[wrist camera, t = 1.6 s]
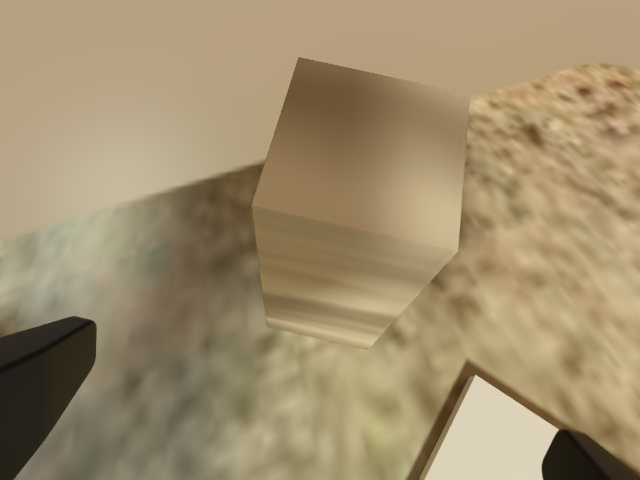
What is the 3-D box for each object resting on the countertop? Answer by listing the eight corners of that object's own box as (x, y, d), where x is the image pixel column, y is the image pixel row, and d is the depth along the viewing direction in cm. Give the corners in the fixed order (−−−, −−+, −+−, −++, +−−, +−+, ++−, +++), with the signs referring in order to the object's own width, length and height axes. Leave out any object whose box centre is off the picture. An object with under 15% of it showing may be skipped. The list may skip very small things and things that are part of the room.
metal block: (367, 349, 21) (458, 251, 10) (267, 326, 21) (251, 205, 10) (382, 256, 23) (470, 94, 12) (291, 236, 23) (298, 57, 13)
